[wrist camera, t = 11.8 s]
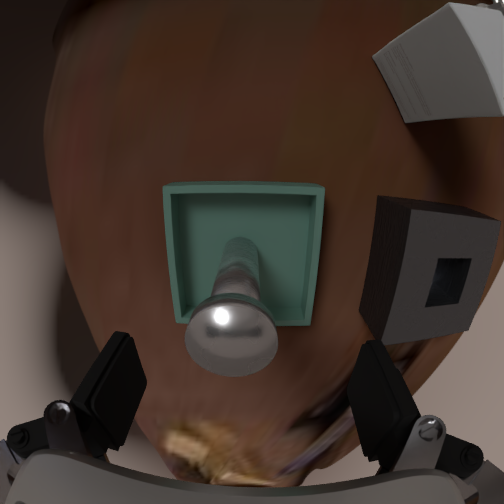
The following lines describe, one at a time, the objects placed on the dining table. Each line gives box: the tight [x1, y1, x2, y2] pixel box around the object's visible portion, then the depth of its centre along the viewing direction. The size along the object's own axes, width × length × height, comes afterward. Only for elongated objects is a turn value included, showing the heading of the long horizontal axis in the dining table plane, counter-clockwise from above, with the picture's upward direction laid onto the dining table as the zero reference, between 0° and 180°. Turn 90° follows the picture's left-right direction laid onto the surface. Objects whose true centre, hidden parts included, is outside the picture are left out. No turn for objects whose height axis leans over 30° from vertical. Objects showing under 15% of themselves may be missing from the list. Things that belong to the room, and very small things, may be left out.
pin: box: [185, 237, 278, 377], centre depth 18 cm, size 4×4×12 cm
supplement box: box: [372, 3, 504, 123], centre depth 12 cm, size 7×7×13 cm
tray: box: [163, 181, 325, 326], centre depth 23 cm, size 12×12×3 cm
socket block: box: [359, 195, 501, 345], centre depth 22 cm, size 12×12×6 cm
